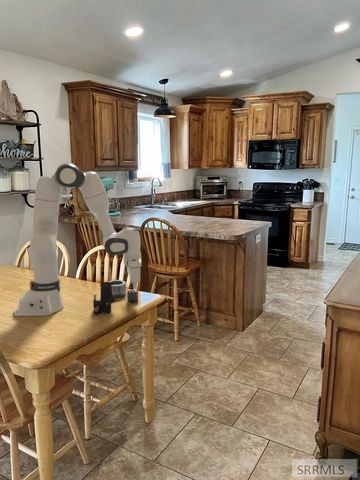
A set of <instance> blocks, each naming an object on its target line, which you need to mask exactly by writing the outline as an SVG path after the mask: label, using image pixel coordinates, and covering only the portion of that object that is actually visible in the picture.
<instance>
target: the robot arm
mask: <svg viewBox="0 0 360 480" xmlns="http://www.w3.org/2000/svg"><path fill="white" fill-rule="evenodd" d="M64 188H67V189H73V188H78V189H79V191H80V193H81V195H82V198H83V200H84V203H85V205H86V207H87V209H88V211H90V213H91V214H92V215H93V216H94V217H95V218H96V220H97V223H98V225H99V228H100V230H101V234H102V236H101V237H102V238H101V242H102V247H103V248H104V251H105V252H106V254H108V255H110V256H119V255H123V264H124V265H125V266H126V272H127V274H128V276H129V280H130V282H129V283H130V284H132V288H133V289H132V290H137V289H138V283H140V281H141V267H142V252H141V244H142V242H141V235H140V231H139V230H138V229H137V228H135V227H129V226H127V227H124V228H123V229H121V230H120V231H119V232H117V231H116V229H115V228H114V226H113V222H112V220H111V217H110V211H109V209H110V200H109V196H108V192H107V190H106V187H105V185H104V183H103V181H102V179H101V178H100V176H99V174H98V173H97V172H95V171H86V172H83V171H82V170H80V169H79V167H78V166H77V165H76V164H74V163H71V162H64V163H62V164H60V165H59V166H57V168H56V171H55V172H54V173H53V175H51V174H45V175H42V176H40V177H39V178H38V180H37V182H36V186H35V192H34V200H33V201H34V202H33V212H32V213H33V215H32V216H33V217H32V218H33V219H32V220H33V221H32V222H33V223H32V224H33V225H32V226H33V227H32V235H31V237H30V240H29V245H30V254H31V261H32V262H31V263H32V268H33V269H32V270H33V279H31V280H30V281H29V290H27V291H26V292H25V293H24V294H23V295H22V296H21V297H19V301H18V305H17V306H15V308H14V309H13V314H14V316H16V317H38V316H39V317H40V316H45V317H46V316H50V315H52V314H54V313H57V312H59V311H61V310H63V308H64V307H65V306H64V303H63V300H62V294H61V280H60V278H59V265H58V254H57V240H58V227H59V225H58V224H59V214H60V203H61V192H62V190H63V189H64Z"/></svg>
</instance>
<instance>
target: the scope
mask: <svg viewBox="0 0 360 480" xmlns="http://www.w3.org/2000/svg"><path fill="white" fill-rule="evenodd" d="M111 286H112V283H110V282H109V281H104V282H100V284H99V287H100V298H99V300H98V299H97V295H96V294H93V301H92V303H93V312H94V315H99V314H109V313H111V312H112V304H113V303H115V302H116V298H112V287H111Z"/></svg>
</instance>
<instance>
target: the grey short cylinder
mask: <svg viewBox="0 0 360 480" xmlns="http://www.w3.org/2000/svg"><path fill="white" fill-rule="evenodd" d="M108 282H110V283H112V286H111V287H112V298H114V299H117V298H118V297H119V298H122V297H125V296H127V283H126V281H124V280H123V279H113V280H109V281H108ZM119 298H118V299H119Z"/></svg>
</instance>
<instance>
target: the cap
mask: <svg viewBox="0 0 360 480" xmlns="http://www.w3.org/2000/svg"><path fill="white" fill-rule="evenodd" d="M126 297H127V298H126V299H127V303H129V302H130V304H135V303H134V302H136V303H139V291H138V290H137V289H132V290H131V289H130V290H127V291H126Z"/></svg>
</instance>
